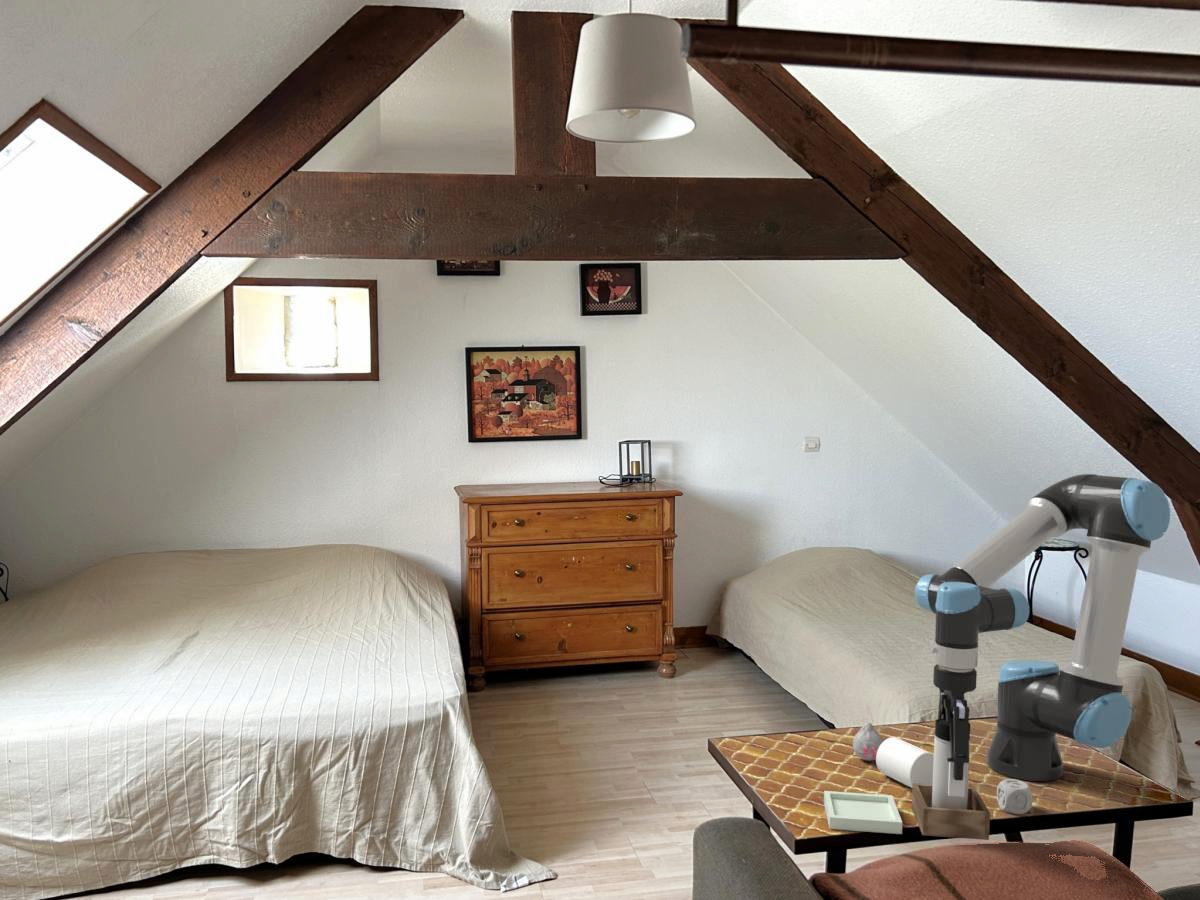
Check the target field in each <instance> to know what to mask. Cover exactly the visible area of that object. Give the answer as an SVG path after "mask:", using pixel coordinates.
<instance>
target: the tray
mask: <svg viewBox="0 0 1200 900" xmlns="http://www.w3.org/2000/svg"><path fill="white" fill-rule="evenodd" d="M823 804H824V805H823V806H824V810H825V815H826V819H827V823H828V829H829V830H839V831H840V830H842V831H852V832H853V831H854V832H868V833H880V834H882V833H883V834H895V835H902V834H903V820H902V818H901V815H900V812H899V810H898V807H897V804H896V802H895V800H894V795H888V794H876V793H861V792H859V793H858V792H849V791H848V792H847V791H846V792H844V791H831V790H824V791H823Z"/></svg>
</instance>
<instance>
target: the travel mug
mask: <svg viewBox="0 0 1200 900" xmlns="http://www.w3.org/2000/svg"><path fill="white" fill-rule="evenodd" d="M934 725H935V726H934V738H933V739H934V740H933V741H934V742H933V745H934V746H933V754H934V762H933V787H932V807H934V808H949V809H963V810H967V801H968V787H969V772H970V762H969V763H966V768H965V792H964V797H960V796H949V795H948V782H949V762H948V761H947V758H951V745H950V728H949V724H948V723H947V722H946V720H945V719H938V718H937V719H935V724H934ZM970 734H971V723H970V722H969V755H970V753H971V752H970V751H971V750H970V748H971V735H970ZM959 756H962V755H959Z"/></svg>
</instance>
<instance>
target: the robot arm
mask: <svg viewBox="0 0 1200 900" xmlns="http://www.w3.org/2000/svg"><path fill="white" fill-rule="evenodd" d="M1170 520H1171V508H1170V504H1169V500H1168V497H1167V496H1166V494H1165V491H1164V490H1163V489H1162V488H1161V486H1159V485H1158V484H1157V483H1155V482H1153V481H1149V480H1144V479H1138V478H1133V477H1121V476H1111V475H1110V476H1109V475H1100V474H1099V475H1098V474H1093V473H1091V474H1090V473H1084V474H1078V475H1073V476H1070V477H1067V478H1064V479H1062V480H1060V481H1057V482H1055V483H1054V484H1051V485H1050V486H1048V487H1046V488H1045V489H1043V490H1042V491H1040V492H1038V494H1035V496H1033V497H1031V498H1030V499H1029V500H1028V501H1027V502H1026V505H1025V509H1024V510H1023V511H1022V512H1020V513H1019V514H1018V515H1016V516H1015V517H1014V518H1013V519H1012V520H1010V521H1009V522H1008V523H1007V524H1005V525H1004V526H1003V527H1001V528H1000V529H998V531H996V532H995V533H994V534H993V535H991V536H990V537H989V538H987V539H986V540H985V541H983V543H981V544H980V545H978V546H977V547H976V548H975V549H974V550H972V551H970V552H969V553H968V554H967V555H965V556H964V557H963V558H962V559H960V560H959V561H958V562H957V563H955V564H954V565H953V566H952V567H950V568H949V569H947V570H946V571H945V572H944V573H943V574H941V575H939V574H937V573H935V574H933V573H932V574H931V573H930V574H929V573H928V574H925V575H922V576H921V578H920V579H919V580H918V582H916V583H917V584H916V585H915V590H914V597H915V601H916V603H917V604H918V606H919V607H920V608H921V609H923V610H926V611H928V612H931V613H933V614H934V615H935V638H934V642H935V643H934V645H935V647H932V648H931V653H934V661H933V662H934V663H935V665H933V666H934V667H933V676H932V677H933V685H934V687H936V688H938V690H939V699H938V711H937V719H945V720H946V722H947V723H948V724H949V728H950V745H951V758H947V761H948V762H949V782H948V795H949V796H960V797H964V792H965V768H966V763H969V764H970V754H969V723H970V722H969V720H970V719H969V718H970V712H971V709H970V707H969V706H968V700H967V699H965V694H966V693H971V692H973V691H975V690H976V689H977V678H978V677H977V676H978V675H977V674H978V673H977V672H978V671H977V670H976V668H977V667H978V663H979V662H978V658H979V657H978V656H979V635H980V634H982V633H988V632H989V633H991V632H997V631H1004V630H1005V631H1010V630H1012V629H1015V628H1020V627H1021V626H1023V625H1024V624H1026V622H1027V621H1028V618H1029V616H1030V604H1029V601H1028V599H1027V597H1026V596H1025V594H1023V593H1022V592H1021V591H1019V590H1017V589H1016V588H1005V587H1003V588H1000V589H995V588H990V587H991V586H993V584H995V583H996V582H998V580H1000V579H1001V578H1002V577H1003V576H1005V575H1006V574H1008V573H1009V572H1010V571H1011V570H1012V569H1013V568H1014V567H1016V566H1017V565H1019V564H1020V563H1021V562H1022V561H1023V560H1025V559H1026V558H1027V557H1029V556H1030V555H1031V554H1032V553H1034V552H1035V551H1036V550H1037V549H1039V547H1041V546H1042V545H1044V544H1045V543H1046V542H1047V541H1048V540H1050V539H1051V538H1059V537H1061V536H1063V535H1065V534H1066V533H1067V532H1069V531H1071V530H1077V529H1079V530H1080V529H1083V530H1087V532H1086V540H1088V542H1089V543H1090V544H1091V546H1092V549H1091V556H1090V559H1089V565H1088V569H1087V574H1086V580H1085V585H1084V590H1083V595H1082V601H1081V605H1080V611H1079V615H1078V620H1077V625H1076V631H1075V635H1074V641H1073V646H1072V652H1071V654H1070V655H1071V656H1070V661H1069V662H1068V663H1066V664H1065V665H1063V666H1062V667H1060V666H1059V665H1058V664H1057V663H1055V662H1053V661H1046V660H1037V659H1036V660H1034V659H1029V660H1028V659H1022V660H1021V659H1020V660H1018V659H1017V660H1011V661H1007V662H1004V663H1003V664H1002V665H1000V669H999V676H998V678H999V679H998V680H997V683H998V684H997V685H998V687H997V690H998V691H997V717H996V718H997V721H996V722H997V724H996V725H997V726H996V730H995V731H994V732H995V733H994V735H993V737H992V739H991V743H990V745H989V747H988V749H987V753H986V764H987V765H988V767H989V768H990V769H992V770H993V771H995V772H996V773H999V774H1002V775H1003V776H1007V777H1011V778H1012V779H1013V778H1014V779H1016V780H1023V781H1029V782H1031V781H1032V782H1048V781H1049V782H1051V781H1054V780H1055V781H1056V780H1058V779H1060V778H1061V777H1063V775H1064V760H1063V757H1062V754H1061V753H1062V752H1061V749H1060V747H1059V743H1058V741H1057V736H1056V735H1060V736H1063V737H1065V738H1069V739H1071V740H1073V741H1076V742H1077V743H1078V744H1081V745H1085V746H1090V747H1093V748H1096V749H1105V748H1108V747H1111V746H1113V745H1115V744H1117V742H1118V741H1119V740H1121V739H1122V737H1123V736H1124V735H1125V733H1126V732H1127V730H1128V728H1129V726H1130V724H1131V720H1132V715H1133V710H1132V706H1131V702H1130V700H1129V698H1128V697H1126V695H1124V694H1123V693H1122V692H1123V688H1124V682H1123V680H1122V679H1121V678H1120V677H1119V676H1118V669H1119V663H1120V657H1121V653H1122V647H1123V644H1124V643H1123V642H1124V637H1125V633H1126V628H1127V624H1128V618H1129V617H1128V616H1129V613H1130V607H1131V602H1132V596H1133V593H1134V592H1133V591H1134V586H1135V583H1136V575H1137V571H1138V567H1139V561H1140V557H1141V556H1142V555H1144V554H1145V553H1147V552H1148V551H1150V549H1151V544H1152V542H1153V541H1156V540H1159V539H1161V538H1162V537H1163V536H1164V535H1165V534H1164V533H1166V532H1167V530H1168V528H1169V526H1170ZM959 755H962V756H959Z"/></svg>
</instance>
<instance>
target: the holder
mask: <svg viewBox="0 0 1200 900" xmlns="http://www.w3.org/2000/svg"><path fill="white" fill-rule="evenodd" d="M932 787H933V785H932V784H917V783H913V784H912V788H911V810H912V814H914V815H913V816H914V817H915V819H916V822H917V824H918V825H917V826H918V827H919V830H920V832H921V835H922V836H929V837H945V838H954V839H955V838H957V839H970V840H971V839H972V840H984V841H985V840H986V841H989V840H990V825H991V823H990V821H991V812H990V811H989V809H988V807H987V806H986V804H985V802H984V800H983V799H982V797H981V795H980V794H979V792H978V791H977V788H976V787H975V786H968V801H967V810H963V809H949V808H934V807H932Z"/></svg>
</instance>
